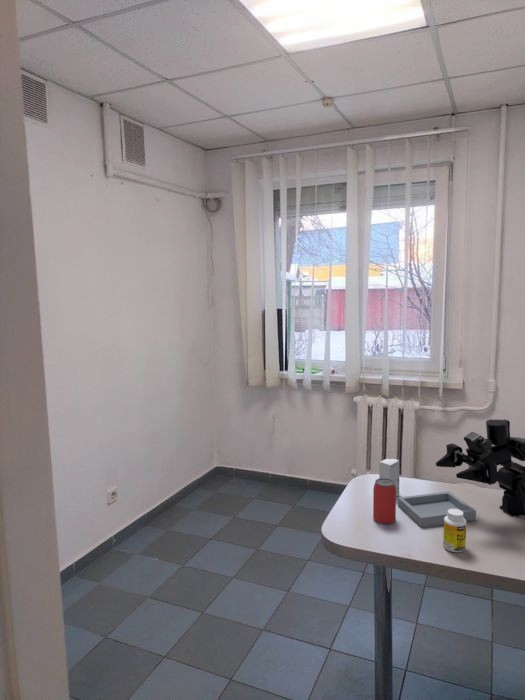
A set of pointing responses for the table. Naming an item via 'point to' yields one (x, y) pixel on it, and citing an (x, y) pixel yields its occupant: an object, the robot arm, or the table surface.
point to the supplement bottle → (454, 531)
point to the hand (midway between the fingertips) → (446, 470)
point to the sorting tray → (433, 508)
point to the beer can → (384, 501)
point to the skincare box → (390, 471)
